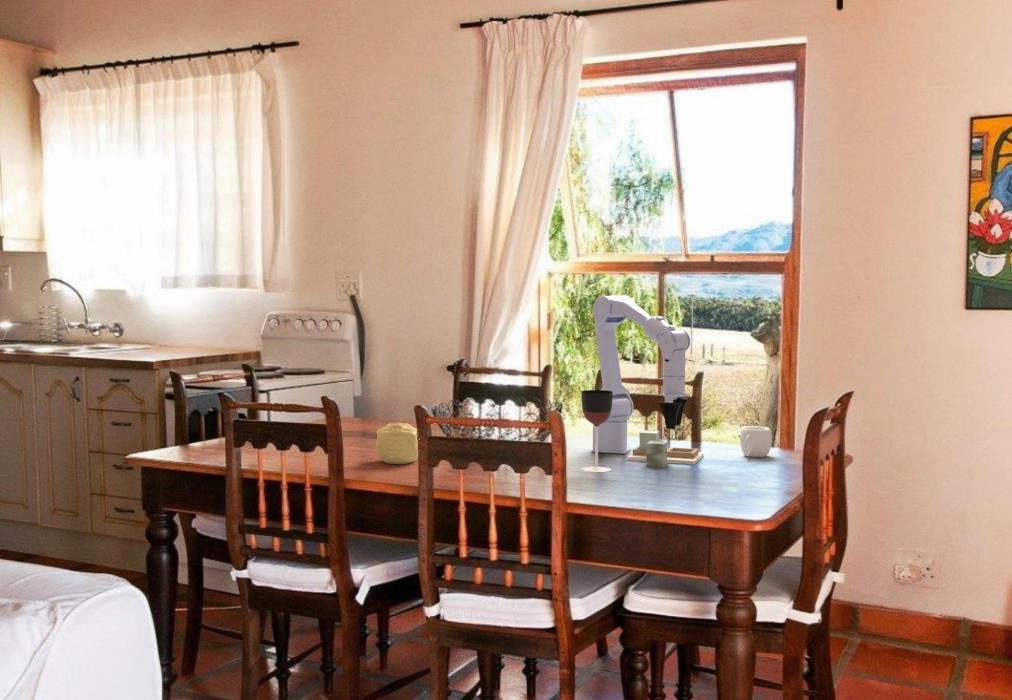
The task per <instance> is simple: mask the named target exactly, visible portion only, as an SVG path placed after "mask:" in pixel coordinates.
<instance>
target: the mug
mask: <svg viewBox="0 0 1012 700" xmlns="http://www.w3.org/2000/svg"><path fill="white" fill-rule="evenodd" d="M739 436H740V438H739V440H740V441H739V442H740V443H739V444H740V448H741V451H742V453H743V455H744V456H745V457H749V458H755V457H761V458H764V457H765V458H766V457H767V456H768V454H769V453H770V451H771V448H772V441H773V438H772V437H773V435H772V430H771V428H769V427H766V426H759V425H758V426H757V425H755V426H754V425H753V426H751V425H749V426H743V427H742V428H741V430H740V435H739Z"/></svg>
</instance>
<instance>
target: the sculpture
mask: <svg viewBox="0 0 1012 700" xmlns="http://www.w3.org/2000/svg"><path fill="white" fill-rule="evenodd" d="M417 429H418V428H416V427H414V426H412V425H410V423H407V422H404V423H402V422H399V421H398V422H393V423H392V422H391V423H390V422H388V423H387V424H385V425H384V426H382V427H379V428H377V429H376V431H375V432H376V437H377V438H376V441H375V442H376V443H375V445H376V450H377V453H378V457H379V459H380V460H381V461H383V462H384V463H386V464H391V465H406V464H410V463H412V462H414V461H415V460H416V459H417V457H418V455H419V454H418V440H417Z"/></svg>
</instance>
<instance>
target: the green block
mask: <svg viewBox="0 0 1012 700" xmlns="http://www.w3.org/2000/svg"><path fill="white" fill-rule="evenodd" d="M667 450H668V441H662V440H661V441H660V440H659V441H649V442H648V443H647V452H646V461H645V462H646V464H645V466H646V467H655V466H656V468H657V467H658V468H665V466H666V465H668V463H667Z"/></svg>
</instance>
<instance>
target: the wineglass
mask: <svg viewBox="0 0 1012 700" xmlns="http://www.w3.org/2000/svg"><path fill="white" fill-rule="evenodd" d="M580 397H581V409H582V413H583V416H584V418H585V420H587V421H588V422H589V423H591V424H592V425H595V452H594V466H587V467H582V468H581V470H582V471H584V472H591V473H603V472H605V473H606V472H610V471H612V469H611V468H609V467H605V466H599V452H598V426H599V425H600V424H602V423H604V422H605V421H606V420H607V419H608V418H609V416H610V413H611V409H612V399H613V397H614V396H613V392H612V391H607V390H601V389H587V390H586V389H585V390H582V391H580Z"/></svg>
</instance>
